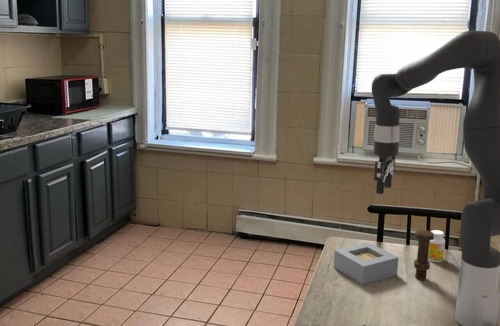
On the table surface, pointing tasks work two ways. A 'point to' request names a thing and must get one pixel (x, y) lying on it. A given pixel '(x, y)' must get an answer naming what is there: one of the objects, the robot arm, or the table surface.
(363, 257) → the beige square tile
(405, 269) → the table surface
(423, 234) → the bolt
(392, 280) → the table surface
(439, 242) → the supplement bottle
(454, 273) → the table surface
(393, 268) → the socket block
